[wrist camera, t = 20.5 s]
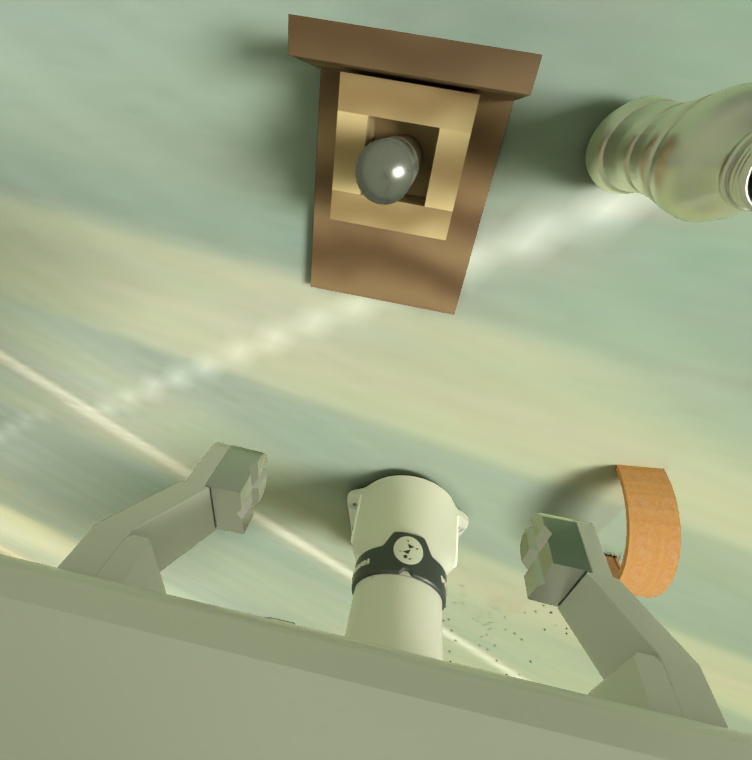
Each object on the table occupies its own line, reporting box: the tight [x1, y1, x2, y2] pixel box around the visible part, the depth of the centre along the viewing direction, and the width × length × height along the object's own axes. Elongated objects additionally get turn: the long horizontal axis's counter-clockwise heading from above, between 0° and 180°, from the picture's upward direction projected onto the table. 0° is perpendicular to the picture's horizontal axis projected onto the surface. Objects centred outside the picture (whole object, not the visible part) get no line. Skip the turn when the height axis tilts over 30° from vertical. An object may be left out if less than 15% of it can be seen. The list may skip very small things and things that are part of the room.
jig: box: [288, 14, 542, 314], centre depth 34 cm, size 21×16×9 cm
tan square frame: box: [330, 71, 480, 240], centre depth 33 cm, size 10×10×6 cm
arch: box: [604, 465, 681, 597], centre depth 52 cm, size 6×20×10 cm, turn 1°
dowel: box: [355, 134, 424, 205], centre depth 29 cm, size 4×4×12 cm
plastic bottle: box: [586, 82, 752, 222], centre depth 25 cm, size 6×7×20 cm
